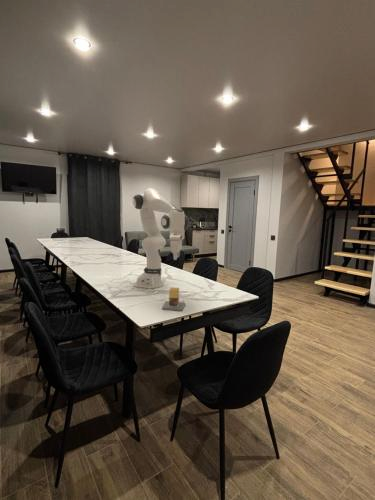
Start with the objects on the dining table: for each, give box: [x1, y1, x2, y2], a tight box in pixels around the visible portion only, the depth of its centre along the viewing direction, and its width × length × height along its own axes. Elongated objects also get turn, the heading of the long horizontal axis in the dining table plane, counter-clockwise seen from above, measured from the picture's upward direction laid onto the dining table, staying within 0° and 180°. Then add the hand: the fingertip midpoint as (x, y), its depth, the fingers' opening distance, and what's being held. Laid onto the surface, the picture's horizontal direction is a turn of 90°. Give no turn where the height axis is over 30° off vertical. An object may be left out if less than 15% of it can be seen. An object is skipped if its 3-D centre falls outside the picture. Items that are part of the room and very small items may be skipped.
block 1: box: [168, 287, 180, 299], centre depth 161 cm, size 5×5×5 cm
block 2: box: [168, 295, 180, 306], centre depth 162 cm, size 5×5×5 cm
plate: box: [161, 300, 186, 312], centre depth 162 cm, size 12×12×1 cm
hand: (176, 258), depth 164 cm, fingers open, 8 cm apart
